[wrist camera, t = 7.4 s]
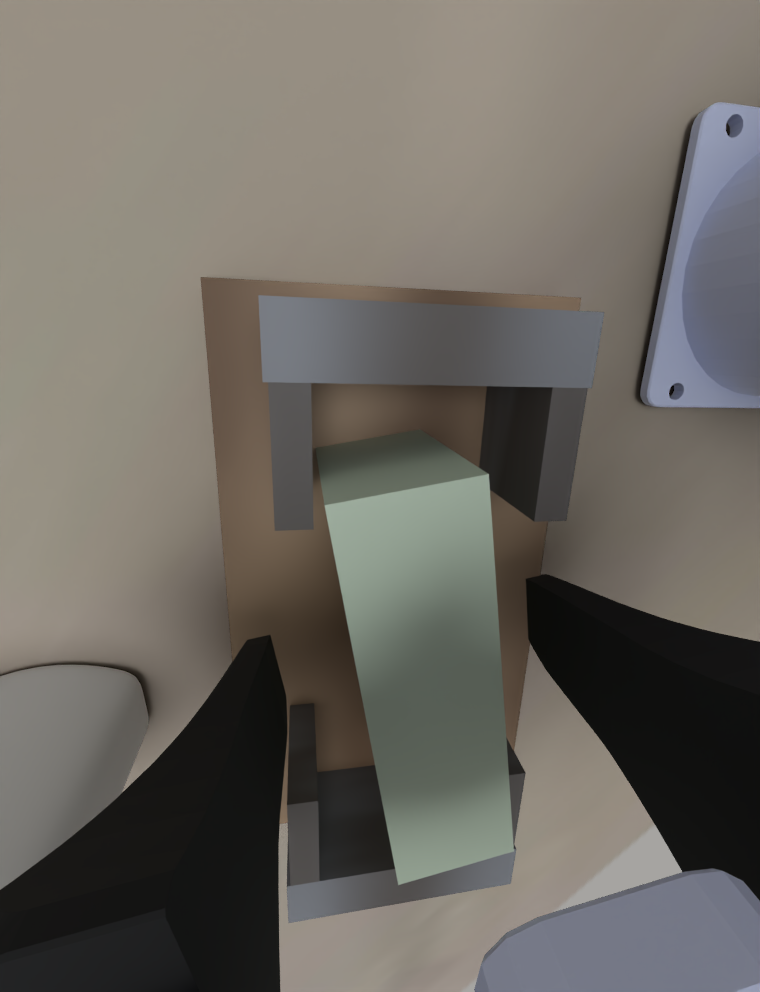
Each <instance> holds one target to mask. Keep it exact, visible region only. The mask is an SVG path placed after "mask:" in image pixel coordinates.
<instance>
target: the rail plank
mask: <svg viewBox="0 0 760 992" xmlns="http://www.w3.org/2000/svg"><path fill="white" fill-rule="evenodd" d="M315 449H316V455H317V461H318V468H319V474H320V480H321V486H322V493H323V499H324V505H325V510H326V516H327V521H328V526H329V531H330V536H331V541H332V546H333V552H334V557H335V562H336V567H337V572H338V577H339V582H340V588H341V593H342V598H343V603H344V608H345V613H346V618H347V624H348V629H349V634H350V639H351V644H352V649H353V654H354V660H355V665H356V670H357V675H358V680H359V685H360V690H361V696H362V701H363V706H364V711H365V716H366V721H367V726H368V732H369V737H370V742H371V747H372V752H373V757H374V762H375V768H376V773H377V778H378V783H379V788H380V793H381V798H382V804H383V809H384V814H385V819H386V824H387V829H388V834H389V840H390V845H391V850H392V855H393V860H394V865H395V870H396V876H397V881H398V885H400V884H404V883H407V882H411V881H414V880H418V879H421V878H424V877H428V876H431V875H435V874H438V873H442V872H445V871H448V870H452V869H455V868H459V867H462V866H466V865H469V864H472V863H476V862H479V861H483V860H486V859H490V858H493V857H496V856H500V855H503V854H507V853H510V852H514V845H513V830H512V815H511V800H510V785H509V770H508V755H507V740H506V725H505V710H504V695H503V680H502V665H501V650H500V635H499V620H498V605H497V590H496V575H495V560H494V545H493V530H492V515H491V499H490V484H489V474H488V473H486V472H485V471H483V470H482V469H480V468H479V467H477V466H476V465H474V464H472V463H471V462H469V461H468V460H466V459H465V458H463V457H462V456H460V455H459V454H457V453H456V452H454V451H452V450H451V449H449V448H448V447H446V446H445V445H443V444H442V443H440V442H439V441H437V440H436V439H434V438H432V437H431V436H429V435H428V434H426V433H425V432H423V431H422V430H420V429H419V430H414V431H408V432H402V433H397V434H391V435H385V436H380V437H374V438H368V439H362V440H357V441H351V442H345V443H340V444H334V445H328V446H323V447H317V448H315Z"/></svg>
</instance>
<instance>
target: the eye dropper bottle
mask: <svg viewBox="0 0 760 992" xmlns="http://www.w3.org/2000/svg"><path fill="white" fill-rule="evenodd" d="M148 722H149V717H148V712H147V707H146V703H145V699H144V695H143V691H142V687H141V684H140V683H139V681H138V680H137V678H136V677H135V676H134V675H132V674H130V673H128V672H126V671H122V670H118V669H113V668H108V667H100V666H90V665H52V666H43V667H36V668H30V669H25V670H21V671H17V672H13V673H10V674H6V675H3V676H0V890H1V889H2V888H3V887H5V886H6V885H8V884H9V883H11V882H12V881H13V880H15V879H16V878H17V877H19V876H20V875H21V874H23V873H24V872H25V871H27V870H28V869H29V868H31V867H32V866H33V865H35V864H36V863H37V862H39V861H40V860H41V859H43V858H44V857H46V856H47V855H48V854H50V853H51V852H52V851H54V850H55V849H56V848H58V847H59V846H60V845H61V844H63V843H64V842H65V841H66V840H68V839H69V838H70V837H72V836H73V835H74V834H75V833H76V832H78V831H79V830H80V829H81V828H82V827H84V826H85V825H86V824H87V823H89V822H90V821H91V820H92V819H93V818H95V817H96V816H97V815H98V814H99V813H100V812H101V811H103V810H104V809H105V808H106V807H107V806H108V805H109V804H111V803H112V802H113V801H114V800H115V799H116V798H117V797H118V796H120V795H121V793H122V791H123V788H124V786H125V783H126V781H127V778H128V776H129V773H130V771H131V768H132V766H133V763H134V761H135V758H136V756H137V754H138V751H139V749H140V746H141V744H142V741H143V739H144V736H145V734H146V731H147V728H148Z"/></svg>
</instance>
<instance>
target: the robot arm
mask: <svg viewBox="0 0 760 992" xmlns="http://www.w3.org/2000/svg"><path fill="white" fill-rule="evenodd" d="M727 123H728V124H729V126H730V135H729V136H728V134H727V132H726V124H727ZM672 385H674V392H673V394H672V395H671V396H669V390H670V388H671V386H672ZM640 396H641V399H642V401H643V402H644V403H645V404H646V405H649V406H654V407H700V408H760V107H753V106H746V105H739V104H732V103H725V102H718V103H714V104H713V105H711V106H709V107H708V108H706V109H704V110H703V111H701V112H700V113H699V114H698V116H697V117H696V118H695V120H694V123H693V126H692V129H691V134H690V139H689V145H688V150H687V155H686V160H685V165H684V170H683V175H682V180H681V185H680V191H679V196H678V201H677V206H676V211H675V216H674V221H673V226H672V231H671V237H670V242H669V247H668V252H667V257H666V262H665V267H664V272H663V278H662V283H661V288H660V293H659V298H658V303H657V308H656V313H655V318H654V324H653V329H652V334H651V339H650V344H649V349H648V354H647V359H646V364H645V370H644V375H643V380H642V385H641V390H640ZM526 598H527V622H528V640H529V642H530V643H531V645H532V647H533V649H534V650H535V652H536V654H537V656H538V657H539V659H540V661H541V662H542V664H543V666H544V667H545V669H546V670H547V672H548V673H549V674H550V676H551V677H552V678H553V680H554V681H555V682H556V683H557V685H558V686H559V687H560V689H561V690H562V691H563V693H564V694H565V695H566V696H567V698H568V699H569V700H570V701H571V703H572V704H573V705H574V706H575V708H576V709H577V710H578V712H579V713H580V714H581V715H582V717H583V718H584V719H585V720H586V722H587V723H588V724H589V726H590V727H591V728H592V729H593V731H594V732H595V733H596V734H597V736H598V737H599V738H600V740H601V741H602V742H603V744H604V745H605V747H606V748H607V749H608V751H609V752H610V754H611V755H612V757H613V758H614V760H615V761H616V763H617V764H618V766H619V767H620V769H621V771H622V772H623V774H624V775H625V777H626V778H627V780H628V781H629V783H630V785H631V786H632V788H633V789H634V791H635V793H636V794H637V796H638V797H639V799H640V801H641V802H642V804H643V806H644V807H645V809H646V811H647V812H648V814H649V815H650V817H651V819H652V820H653V822H654V824H655V825H656V827H657V828H658V830H659V832H660V834H661V835H662V837H663V839H664V841H665V842H666V844H667V846H668V847H669V849H670V851H671V853H672V854H673V856H674V858H675V860H676V861H677V863H678V865H679V866H680V868H681V870H682V873H679V874H676V875H673V876H669V877H666V878H663V879H659V880H656V881H653V882H650V883H647V884H643V885H640V886H637V887H634V888H630V889H627V890H624V891H621V892H618V893H614V894H611V895H608V896H605V897H601V898H598V899H595V900H592V901H589V902H586V903H582V904H579V905H576V906H572V907H569V908H566V909H563V910H559V911H556V912H553V913H550V914H547V915H543V916H540V917H537V918H535V919H533V920H531V921H529V922H527V923H525V924H523V925H521V926H519V927H517V928H515V929H513V930H511V931H509V932H507V933H506V934H505V935H504V936H503V937H502V938H501V939H500V940H499V941H498V942H497V943H496V944H495V945H494V946H493V947H492V948H491V949H490V950H489V951H488V952H487V953H486V954H485V956H484V959H483V961H482V964H481V967H480V971H479V974H478V978H477V982H476V985H475V989H474V990H475V992H760V642H758V641H753V640H748V639H743V638H738V637H733V636H729V635H724V634H719V633H715V632H711V631H707V630H702V629H699V628H695V627H691V626H688V625H684V624H681V623H677V622H673V621H670V620H667V619H664V618H660V617H657V616H654V615H651V614H648V613H646V612H643V611H640V610H637V609H634V608H631V607H629V606H626V605H623V604H621V603H618V602H615V601H613V600H610V599H608V598H605V597H603V596H600V595H598V594H595V593H593V592H590V591H588V590H586V589H583V588H581V587H578V586H576V585H573V584H571V583H569V582H566V581H564V580H561V579H558V578H556V577H553V576H550V575H547V574H545V575H540V576H536V577H531V578H527V579H526ZM286 745H287V699H286V693H285V689H284V685H283V681H282V678H281V674H280V670H279V666H278V662H277V658H276V655H275V651H274V647H273V643H272V639H271V635H267V636H262V637H257V638H253V639H248V640H247V641H246V642H245V644H244V645H243V646H242V648H241V649H240V651H239V652H238V654H237V656H236V657H235V659H234V660H233V662H232V663H231V665H230V666H229V668H228V669H227V671H226V672H225V674H224V676H223V677H222V678H221V680H220V681H219V683H218V684H217V686H216V687H215V689H214V690H213V691H212V693H211V694H210V696H209V697H208V699H207V700H206V701H205V703H204V704H203V705H202V707H201V708H200V709H199V710H198V712H197V713H196V714H195V716H194V717H193V718H192V720H191V721H190V722H189V723H188V725H187V726H186V727H185V728H184V730H183V731H182V732H181V733H180V734H179V735H178V737H177V738H176V739H175V740H174V741H173V742H172V743H171V744H170V745H169V747H168V748H167V749H166V750H165V751H164V752H163V753H162V754H161V755H160V756H159V757H158V759H157V760H156V761H155V762H154V763H153V764H152V765H151V766H150V767H149V768H148V769H147V770H146V771H144V772H143V773H142V774H141V775H140V776H139V777H138V778H137V779H136V780H135V781H134V782H133V783H132V784H131V785H130V786H129V787H128V788H127V789H126V790H125V791H124V792H123V793H122V794H121V795H120V796H118V797H117V798H116V799H115V800H114V801H113V802H112V803H111V804H109V805H108V806H107V807H106V808H105V809H104V810H103V811H101V812H100V813H99V814H98V815H97V816H96V817H95V818H93V819H92V820H91V821H90V822H89V823H87V824H86V825H85V826H84V827H82V828H81V829H80V830H79V831H78V832H76V833H75V834H74V835H73V836H72V837H70V838H69V839H68V840H66V841H65V842H64V843H63V844H61V845H60V846H59V847H58V848H56V849H55V850H54V851H52V852H51V853H50V854H48V855H47V856H46V857H44V858H43V859H41V860H40V861H39V862H37V863H36V864H35V865H33V866H32V867H31V868H29V869H28V870H27V871H25V872H24V873H23V874H21V875H20V876H19V877H17V878H16V879H15V880H13V881H12V882H11V883H9V884H8V885H6V886H5V887H3V888H2V889H1V890H0V992H280V962H279V896H278V842H279V823H280V812H281V801H282V790H283V779H284V768H285V757H286Z"/></svg>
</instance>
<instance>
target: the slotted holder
mask: <svg viewBox="0 0 760 992" xmlns="http://www.w3.org/2000/svg"><path fill="white" fill-rule="evenodd" d="M201 287H202V299H203V311H204V323H205V335H206V348H207V360H208V372H209V384H210V396H211V408H212V420H213V433H214V445H215V457H216V469H217V481H218V493H219V505H220V518H221V530H222V542H223V554H224V566H225V578H226V590H227V603H228V615H229V627H230V639H231V651H232V662H233V660H234V659H235V657H236V656H237V654H238V652H239V651H240V649H241V648H242V646H243V645H244V644H245V642H246V641H247V640H248V639H253V638H257V637H262V636H267V635H271V639H272V643H273V647H274V651H275V655H276V658H277V662H278V666H279V670H280V674H281V678H282V681H283V685H284V689H285V693H286V699H287V745H286V757H285V768H284V779H283V790H282V801H281V812H280V823H279V824H281V823H288V861H287V900H288V921H289V923H291V922H297V921H303V920H308V919H314V918H320V917H325V916H331V915H337V914H342V913H348V912H354V911H359V910H365V909H371V908H376V907H382V906H388V905H393V904H399V903H405V902H410V901H416V900H422V899H427V898H433V897H438V896H444V895H450V894H455V893H461V892H467V891H472V890H478V889H484V888H489V887H495V886H501V885H506V884H511V878H512V872H513V866H514V860H515V854H516V847H515V845H514V841H515V835H516V829H517V823H518V817H519V810H520V804H521V798H522V792H523V786H524V779H525V771H524V769H523V767H522V766H521V764H520V762H519V760H518V758H517V756H516V754H515V753H514V747H515V740H516V734H517V727H518V720H519V713H520V707H521V700H522V693H523V686H524V680H525V673H526V666H527V659H528V653H529V646H530V642H529V640H528V622H527V598H526V579H527V578H531V577H536V576H540V572H541V565H542V558H543V552H544V545H545V538H546V531H547V525H548V521H566V519H567V513H568V506H569V500H570V494H571V488H572V482H573V475H574V469H575V463H576V457H577V451H578V444H579V438H580V432H581V426H582V420H583V413H584V407H585V401H586V395H587V389H588V388H592V384H593V378H594V372H595V366H596V360H597V354H598V348H599V342H600V335H601V329H602V323H603V317H604V312H590V311H579V309H580V302H581V298H575V297H556V296H538V295H520V294H501V293H483V292H464V291H446V290H428V289H409V288H391V287H372V286H354V285H336V284H317V283H299V282H281V281H262V280H244V279H225V278H207V277H201ZM419 429H420V430H422V431H423V432H425V433H426V434H428V435H429V436H431V437H432V438H434V439H436V440H437V441H439V442H440V443H442V444H443V445H445V446H446V447H448V448H449V449H451V450H452V451H454V452H456V453H457V454H459V455H460V456H462V457H463V458H465V459H466V460H468V461H469V462H471V463H472V464H474V465H476V466H477V467H479V468H480V469H482V470H483V471H485V472H486V473H488V474H489V484H490V499H491V515H492V530H493V545H494V560H495V575H496V590H497V605H498V620H499V635H500V650H501V665H502V680H503V695H504V710H505V725H506V740H507V755H508V770H509V785H510V800H511V815H512V830H513V845H514V852H510V853H507V854H503V855H500V856H496V857H493V858H490V859H486V860H483V861H479V862H476V863H472V864H469V865H466V866H462V867H459V868H455V869H452V870H448V871H445V872H442V873H438V874H435V875H431V876H428V877H424V878H421V879H418V880H414V881H411V882H407V883H404V884H400V885H398V881H397V876H396V870H395V865H394V860H393V855H392V850H391V845H390V840H389V834H388V829H387V824H386V819H385V814H384V809H383V804H382V798H381V793H380V788H379V783H378V778H377V773H376V768H375V762H374V757H373V752H372V747H371V742H370V737H369V732H368V726H367V721H366V716H365V711H364V706H363V701H362V696H361V690H360V685H359V680H358V675H357V670H356V665H355V660H354V654H353V649H352V644H351V639H350V634H349V629H348V624H347V618H346V613H345V608H344V603H343V598H342V593H341V588H340V582H339V577H338V572H337V567H336V562H335V557H334V552H333V546H332V541H331V536H330V531H329V526H328V521H327V516H326V510H325V505H324V499H323V493H322V486H321V480H320V474H319V468H318V461H317V455H316V449H315V448H317V447H323V446H328V445H334V444H340V443H345V442H351V441H357V440H362V439H368V438H374V437H380V436H385V435H391V434H397V433H402V432H408V431H414V430H419Z"/></svg>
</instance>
